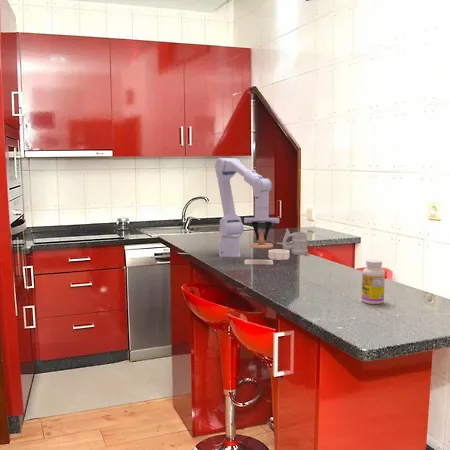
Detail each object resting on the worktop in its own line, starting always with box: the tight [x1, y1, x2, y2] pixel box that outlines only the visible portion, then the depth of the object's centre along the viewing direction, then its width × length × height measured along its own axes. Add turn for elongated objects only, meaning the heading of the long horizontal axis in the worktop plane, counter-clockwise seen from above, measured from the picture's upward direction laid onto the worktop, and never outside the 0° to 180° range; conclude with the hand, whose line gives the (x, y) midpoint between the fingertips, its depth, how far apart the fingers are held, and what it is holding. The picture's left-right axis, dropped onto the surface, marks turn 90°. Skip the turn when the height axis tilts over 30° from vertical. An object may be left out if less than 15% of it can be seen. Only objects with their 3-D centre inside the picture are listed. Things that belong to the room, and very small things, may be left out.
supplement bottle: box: [361, 259, 386, 305], centre depth 169 cm, size 7×7×13 cm
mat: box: [244, 259, 274, 265], centre depth 233 cm, size 12×10×1 cm
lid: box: [249, 231, 274, 249], centre depth 231 cm, size 10×10×6 cm
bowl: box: [268, 248, 291, 261], centre depth 242 cm, size 9×9×4 cm
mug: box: [281, 228, 309, 256], centre depth 253 cm, size 8×12×12 cm, turn 96°
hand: (261, 239), depth 231 cm, fingers closed on lid, 3 cm apart
